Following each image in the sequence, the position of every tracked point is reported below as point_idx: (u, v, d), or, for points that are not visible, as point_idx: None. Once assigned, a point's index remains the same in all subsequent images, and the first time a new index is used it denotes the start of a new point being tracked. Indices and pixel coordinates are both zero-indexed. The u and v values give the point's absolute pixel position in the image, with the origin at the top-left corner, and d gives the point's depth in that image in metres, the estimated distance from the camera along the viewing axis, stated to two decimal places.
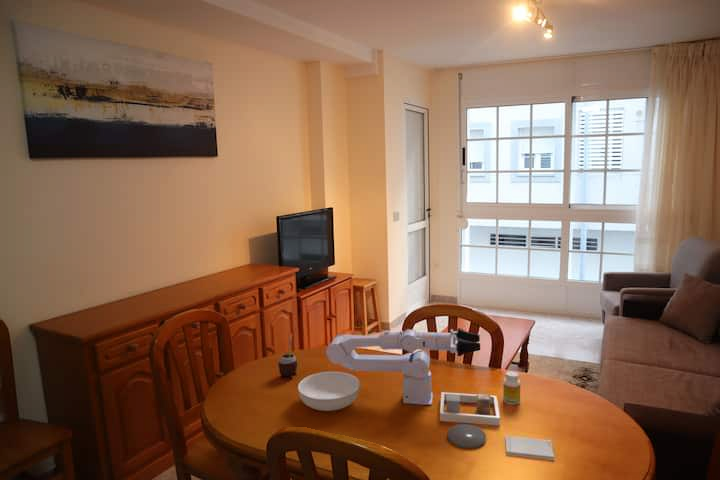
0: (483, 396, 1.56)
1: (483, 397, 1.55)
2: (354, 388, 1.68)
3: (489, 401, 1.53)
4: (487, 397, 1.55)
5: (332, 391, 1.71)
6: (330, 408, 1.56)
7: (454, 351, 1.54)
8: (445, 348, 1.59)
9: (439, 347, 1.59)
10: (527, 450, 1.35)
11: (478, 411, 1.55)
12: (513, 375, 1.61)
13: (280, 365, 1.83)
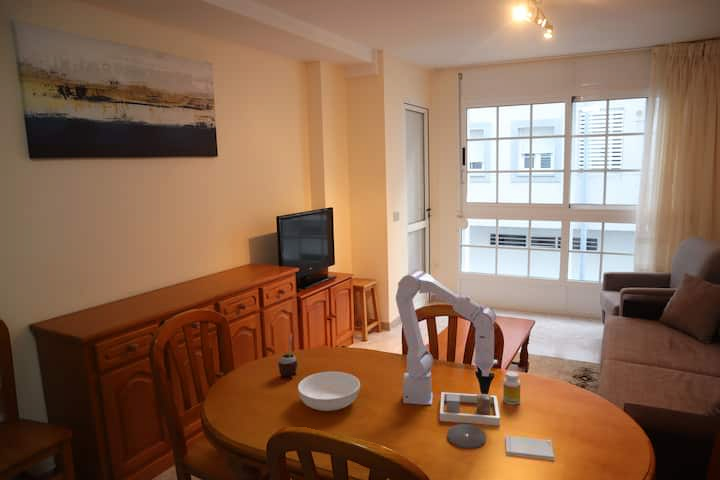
0: (483, 396, 1.56)
1: (483, 397, 1.55)
2: (354, 388, 1.68)
3: (489, 401, 1.53)
4: (487, 397, 1.55)
5: (332, 391, 1.71)
6: (330, 408, 1.56)
7: (483, 374, 1.47)
8: (479, 357, 1.51)
9: (481, 352, 1.51)
10: (527, 450, 1.35)
11: (478, 411, 1.55)
12: (513, 375, 1.61)
13: (280, 365, 1.83)
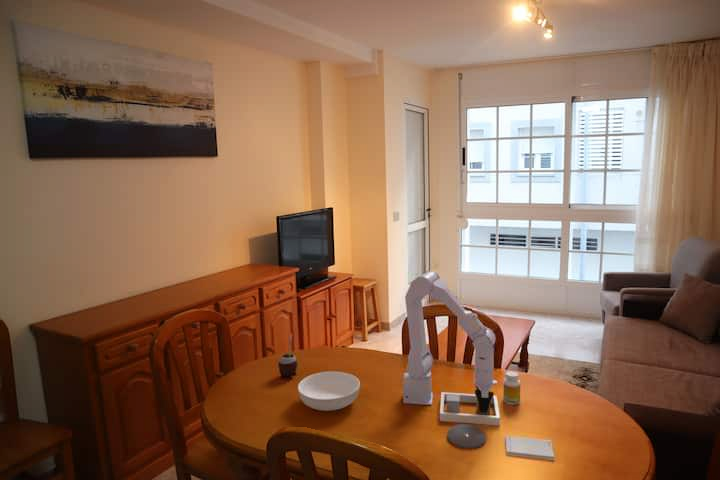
0: None
1: None
2: (354, 388, 1.68)
3: None
4: None
5: (332, 391, 1.71)
6: (330, 408, 1.56)
7: (483, 395, 1.48)
8: (479, 378, 1.52)
9: (480, 373, 1.52)
10: (527, 450, 1.35)
11: (478, 411, 1.55)
12: (513, 375, 1.61)
13: (280, 365, 1.83)
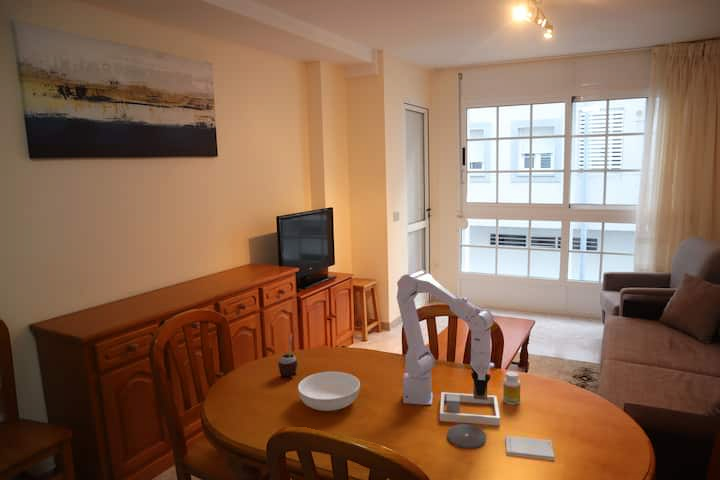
0: None
1: None
2: (354, 388, 1.68)
3: None
4: None
5: (332, 391, 1.71)
6: (330, 408, 1.56)
7: (480, 377, 1.44)
8: (475, 361, 1.48)
9: (477, 355, 1.48)
10: (527, 450, 1.35)
11: (475, 394, 1.50)
12: (513, 375, 1.61)
13: (280, 365, 1.83)
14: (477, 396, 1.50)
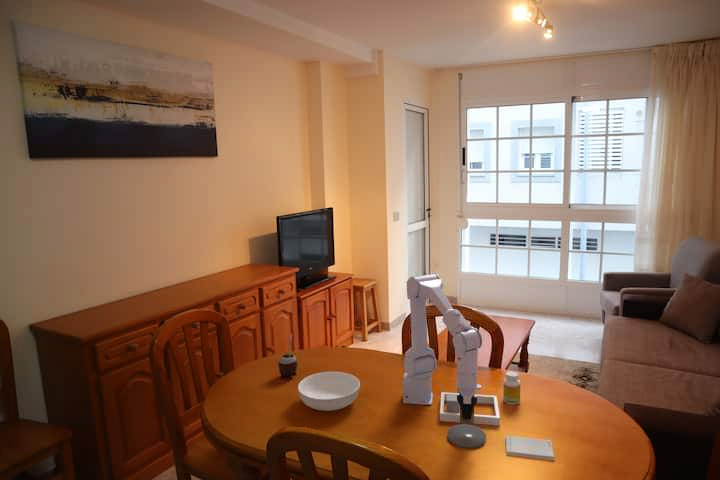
0: None
1: None
2: (354, 388, 1.68)
3: None
4: None
5: (332, 391, 1.71)
6: (330, 408, 1.56)
7: (465, 401, 1.34)
8: (461, 382, 1.38)
9: (463, 376, 1.38)
10: (527, 450, 1.35)
11: (461, 418, 1.40)
12: (513, 375, 1.61)
13: (280, 365, 1.83)
14: (463, 420, 1.40)
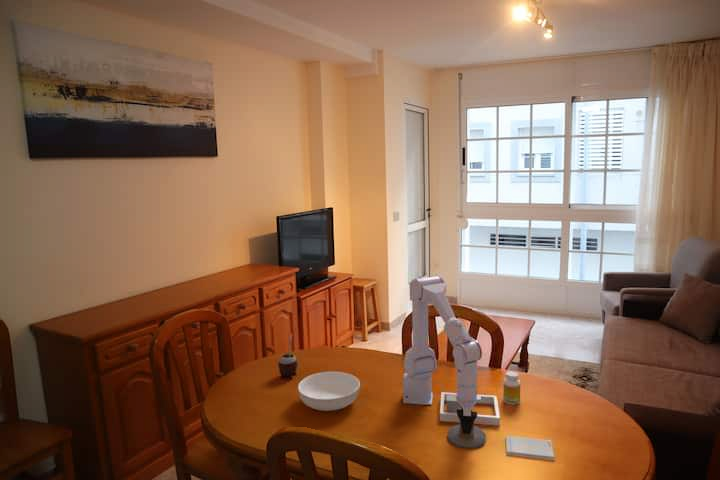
0: None
1: None
2: (354, 388, 1.68)
3: None
4: None
5: (332, 391, 1.71)
6: (330, 408, 1.56)
7: (465, 413, 1.34)
8: (461, 394, 1.39)
9: (462, 388, 1.38)
10: (527, 450, 1.35)
11: (460, 433, 1.41)
12: (513, 375, 1.61)
13: (280, 365, 1.83)
14: (463, 434, 1.41)
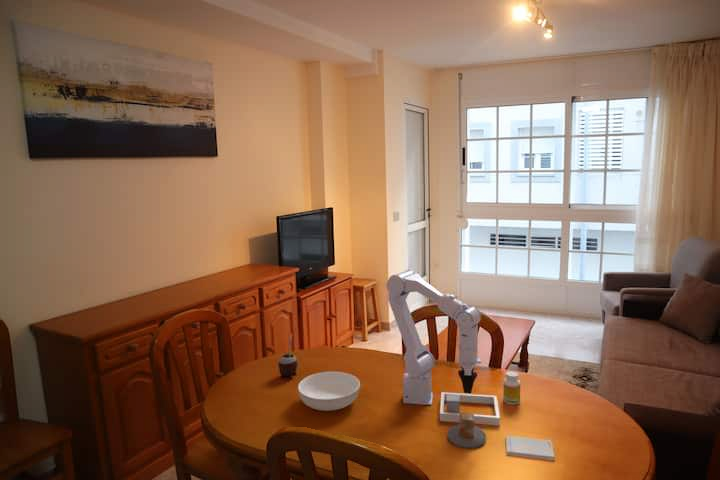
0: (466, 416, 1.42)
1: (466, 417, 1.41)
2: (354, 388, 1.68)
3: (472, 422, 1.40)
4: (470, 417, 1.41)
5: (332, 391, 1.71)
6: (330, 408, 1.56)
7: (466, 373, 1.46)
8: (463, 356, 1.50)
9: (464, 351, 1.50)
10: (527, 450, 1.35)
11: (460, 433, 1.41)
12: (513, 375, 1.61)
13: (280, 365, 1.83)
14: (463, 434, 1.41)
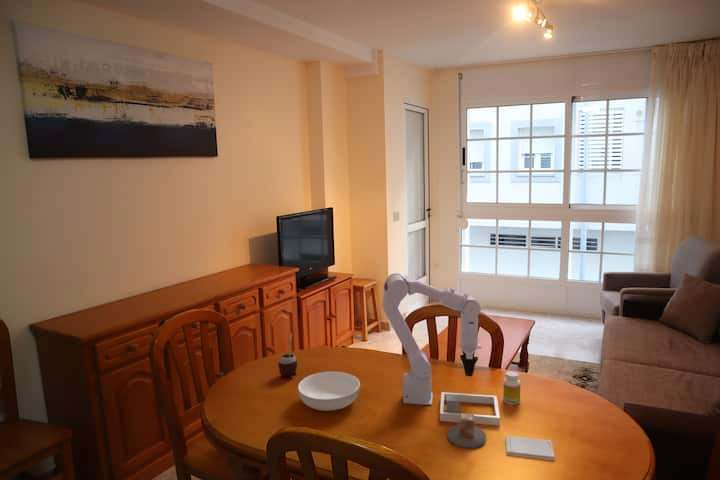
0: (466, 416, 1.42)
1: (466, 417, 1.41)
2: (354, 388, 1.68)
3: (472, 422, 1.40)
4: (470, 417, 1.41)
5: (332, 391, 1.71)
6: (330, 408, 1.56)
7: (467, 357, 1.57)
8: (464, 342, 1.62)
9: (465, 337, 1.61)
10: (527, 450, 1.35)
11: (460, 433, 1.41)
12: (513, 375, 1.61)
13: (280, 365, 1.83)
14: (463, 434, 1.41)
